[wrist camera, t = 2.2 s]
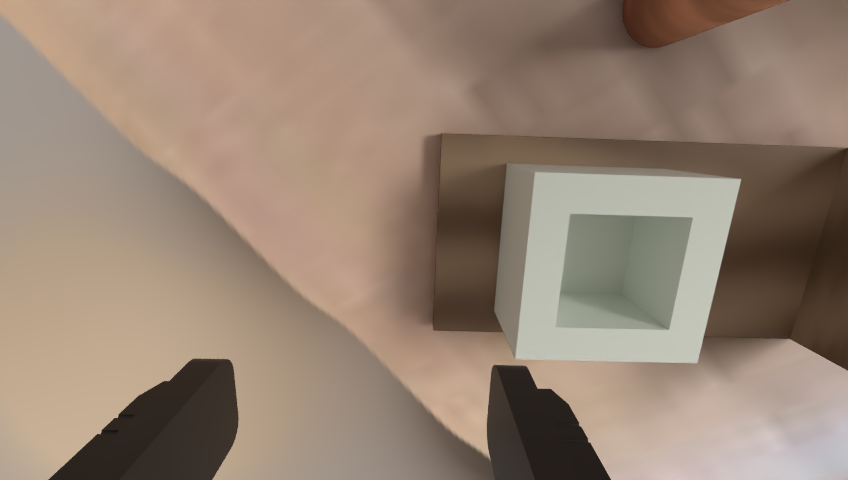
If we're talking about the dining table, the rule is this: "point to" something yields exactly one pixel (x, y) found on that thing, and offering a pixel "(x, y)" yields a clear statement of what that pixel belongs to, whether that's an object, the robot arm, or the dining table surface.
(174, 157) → the dining table surface
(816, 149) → the walnut angle bracket
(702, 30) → the dowel
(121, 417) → the robot arm
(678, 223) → the hole block
